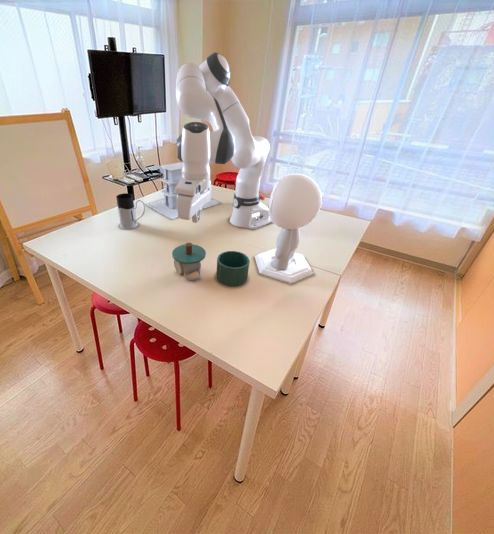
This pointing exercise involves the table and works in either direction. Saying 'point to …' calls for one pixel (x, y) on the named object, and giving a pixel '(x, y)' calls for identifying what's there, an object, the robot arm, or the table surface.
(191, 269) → the ceramic mug
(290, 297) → the table surface
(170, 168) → the file organizer
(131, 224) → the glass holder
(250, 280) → the table surface
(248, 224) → the robot arm
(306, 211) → the globe table lamp
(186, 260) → the lid
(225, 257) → the tin
